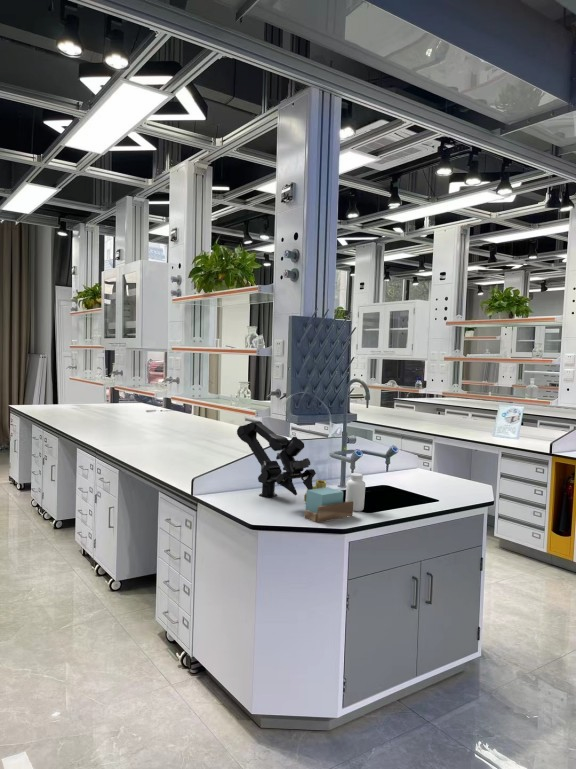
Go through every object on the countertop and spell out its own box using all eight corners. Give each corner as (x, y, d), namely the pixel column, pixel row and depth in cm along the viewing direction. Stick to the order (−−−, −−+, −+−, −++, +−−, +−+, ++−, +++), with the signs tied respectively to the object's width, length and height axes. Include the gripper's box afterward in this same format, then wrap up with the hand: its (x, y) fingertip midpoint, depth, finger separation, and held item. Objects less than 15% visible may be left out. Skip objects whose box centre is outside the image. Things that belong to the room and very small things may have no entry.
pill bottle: (349, 511, 237) (351, 476, 237) (342, 506, 245) (344, 472, 244) (366, 511, 240) (369, 476, 239) (359, 506, 247) (361, 472, 247)
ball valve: (333, 504, 252) (321, 495, 260) (336, 482, 250) (323, 474, 258) (309, 508, 245) (297, 499, 254) (311, 485, 243) (299, 477, 252)
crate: (305, 514, 229) (306, 490, 229) (326, 510, 237) (327, 487, 236) (320, 520, 222) (322, 495, 222) (341, 516, 230) (343, 491, 230)
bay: (304, 518, 223) (305, 502, 223) (339, 511, 237) (340, 497, 237) (317, 522, 218) (318, 507, 217) (353, 515, 231) (354, 501, 231)
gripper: (282, 453, 235) (298, 485, 228) (314, 450, 248) (330, 481, 240) (269, 468, 242) (283, 500, 234) (301, 464, 254) (316, 495, 246)
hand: (304, 493), depth 238 cm, fingers open, 9 cm apart
